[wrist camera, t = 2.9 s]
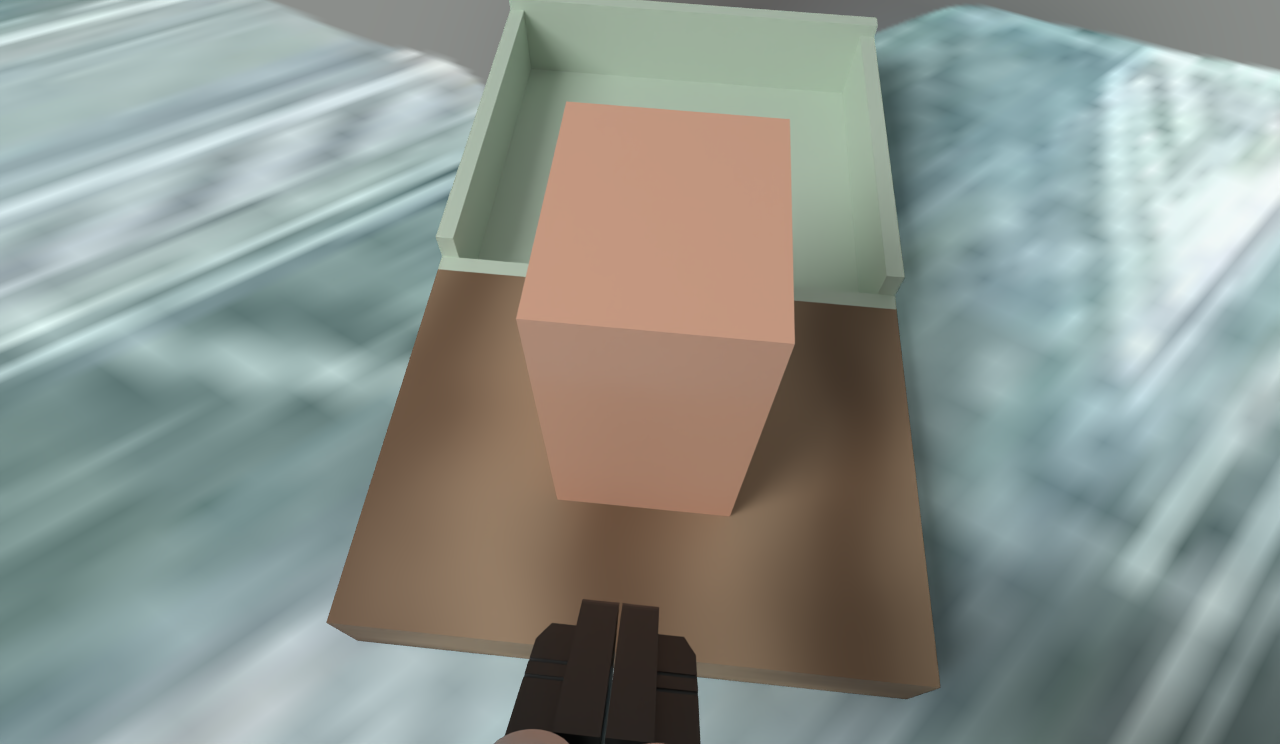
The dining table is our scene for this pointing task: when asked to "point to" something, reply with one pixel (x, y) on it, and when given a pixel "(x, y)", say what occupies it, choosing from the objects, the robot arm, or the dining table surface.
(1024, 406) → the dining table surface
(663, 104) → the tray
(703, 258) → the salmon-coloured block
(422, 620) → the board
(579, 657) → the robot arm
